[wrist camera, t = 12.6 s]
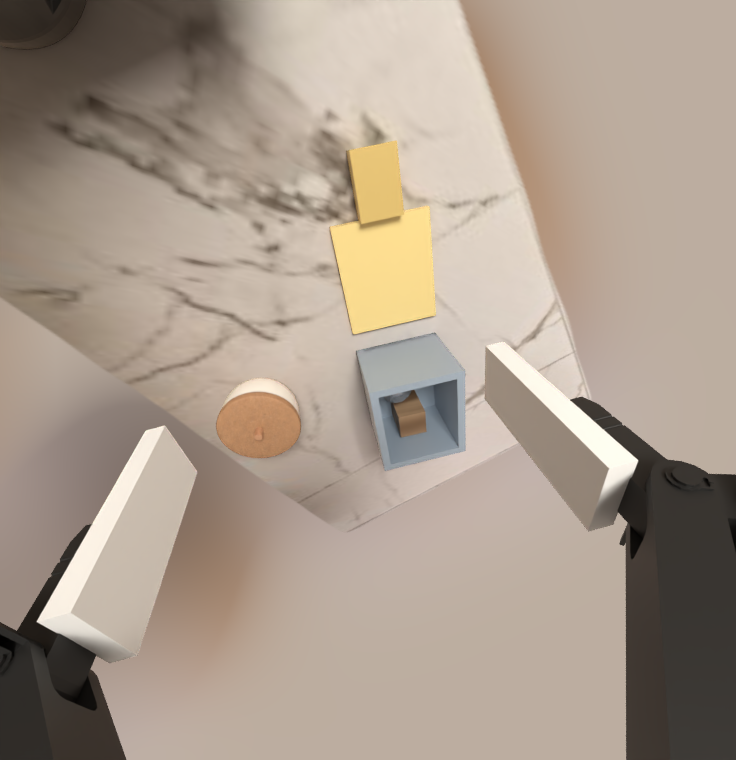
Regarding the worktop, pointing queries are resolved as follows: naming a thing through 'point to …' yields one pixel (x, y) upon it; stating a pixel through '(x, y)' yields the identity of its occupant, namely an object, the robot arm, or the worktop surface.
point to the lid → (383, 246)
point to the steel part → (398, 397)
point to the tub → (434, 389)
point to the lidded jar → (259, 419)
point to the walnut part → (409, 415)
